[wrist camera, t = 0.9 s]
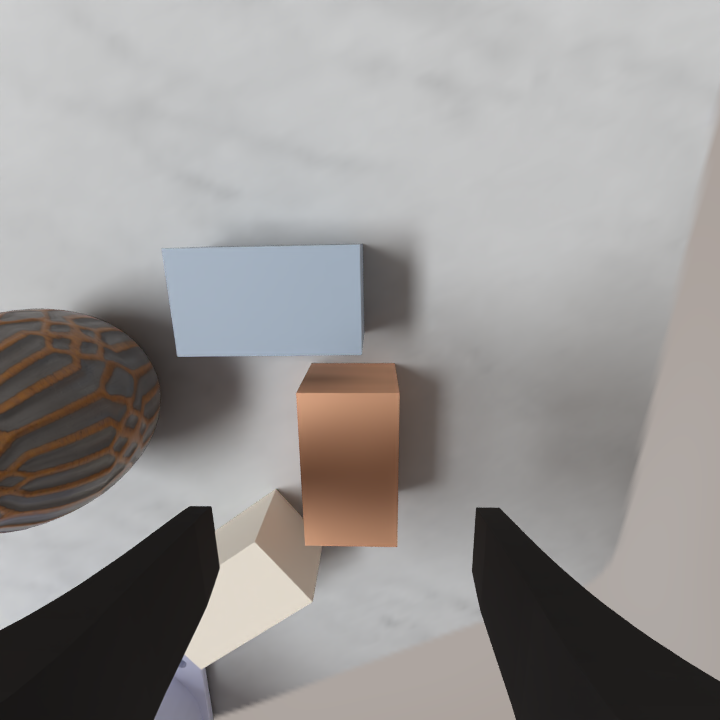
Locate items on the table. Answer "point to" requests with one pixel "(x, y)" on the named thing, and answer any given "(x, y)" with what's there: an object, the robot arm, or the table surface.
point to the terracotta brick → (349, 454)
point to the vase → (68, 412)
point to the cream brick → (256, 578)
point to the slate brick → (266, 300)
